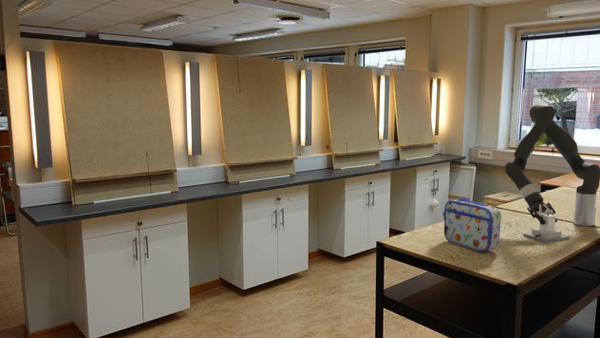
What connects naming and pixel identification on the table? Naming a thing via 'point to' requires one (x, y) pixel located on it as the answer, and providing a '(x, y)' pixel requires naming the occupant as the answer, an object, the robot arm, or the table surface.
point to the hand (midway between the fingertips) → (550, 223)
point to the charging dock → (546, 235)
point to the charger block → (548, 223)
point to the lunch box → (472, 224)
